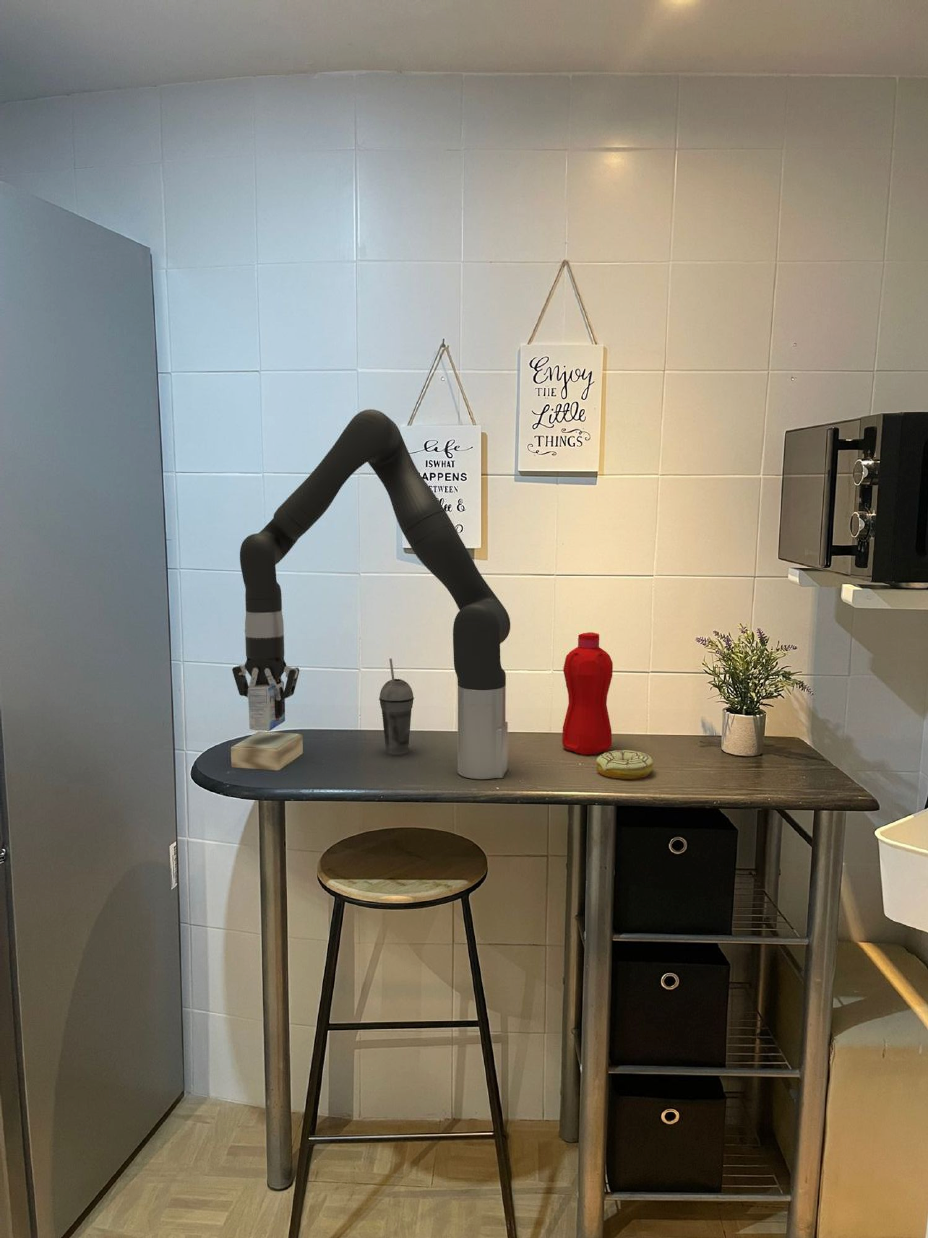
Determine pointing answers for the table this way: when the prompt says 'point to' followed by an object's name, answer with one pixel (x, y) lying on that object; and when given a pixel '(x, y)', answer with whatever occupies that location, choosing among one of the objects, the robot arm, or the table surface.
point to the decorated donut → (624, 764)
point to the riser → (267, 750)
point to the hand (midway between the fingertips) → (267, 716)
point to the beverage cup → (396, 714)
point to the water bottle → (587, 697)
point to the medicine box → (262, 708)
